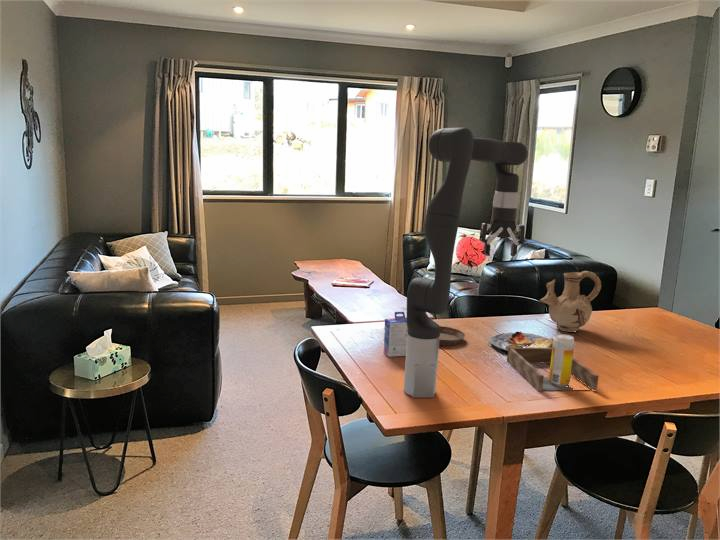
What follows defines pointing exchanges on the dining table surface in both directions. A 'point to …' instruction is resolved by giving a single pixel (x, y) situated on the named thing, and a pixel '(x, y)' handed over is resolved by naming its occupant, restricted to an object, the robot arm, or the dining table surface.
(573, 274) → the ceramic vessel
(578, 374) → the bay
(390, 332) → the ink cartridge box
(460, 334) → the plant saucer
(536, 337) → the food plate
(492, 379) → the dining table surface
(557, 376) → the beer can
